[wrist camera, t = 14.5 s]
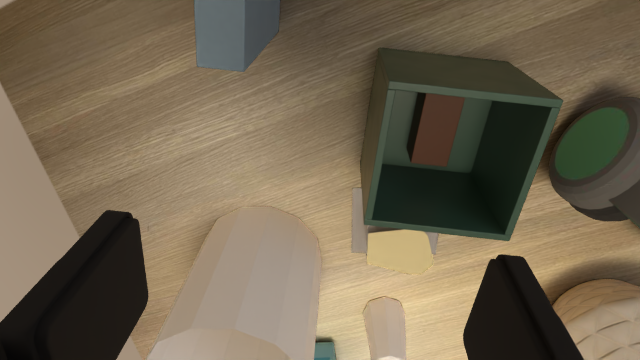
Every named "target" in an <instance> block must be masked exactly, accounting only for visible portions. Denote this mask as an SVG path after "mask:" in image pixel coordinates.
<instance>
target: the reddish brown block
mask: <svg viewBox="0 0 640 360" xmlns="http://www.w3.org/2000/svg"><path fill="white" fill-rule="evenodd" d="M464 100H465V97H456V96H447V95H438V94H429V93H420V92H418V95H417V100H416V105H415V110H414V114H413V119H412V124H411V128H410V133H409V138H408V143H407V147H406V148H407V152H408V155H409V159H410V162H411V163H416V164H425V165H434V166H443V167H447V164H448V160H449V156H450V153H451V149H452V145H453V141H454V138H455V134H456V130H457V127H458V123H459V119H460V115H461V112H462V108H463V104H464Z"/></svg>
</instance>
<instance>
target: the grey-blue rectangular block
mask: <svg viewBox="0 0 640 360" xmlns="http://www.w3.org/2000/svg"><path fill="white" fill-rule="evenodd" d="M194 13H195V36H196V60H197V67H203V68H212V69H221V70H230V71H239V72H244V71H245V70H246V69H247V68H248V67H249V65H250V64H251V63H252V62H253V61H254V60H255V58H256V57H257V56H258V55H259V54H260V53H261V51H262V50H263V49H264V48H265V47H266V46H267V44H268V43H269V42H270V41H271V40H272V39H273V37H274V36H275V35H276V34H277V33H278V31H279V13H280V0H194Z"/></svg>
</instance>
